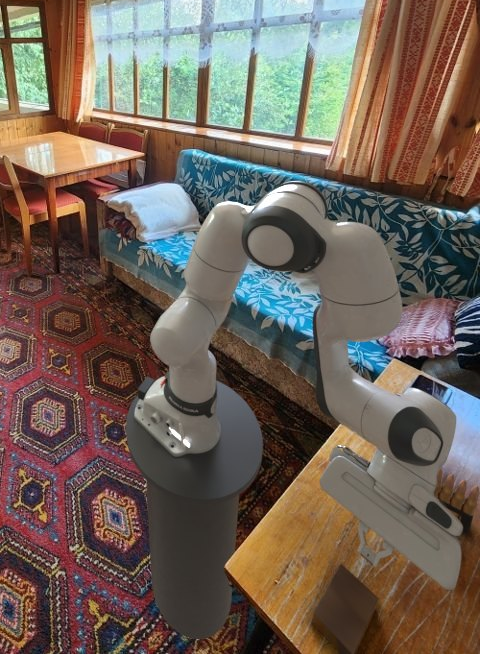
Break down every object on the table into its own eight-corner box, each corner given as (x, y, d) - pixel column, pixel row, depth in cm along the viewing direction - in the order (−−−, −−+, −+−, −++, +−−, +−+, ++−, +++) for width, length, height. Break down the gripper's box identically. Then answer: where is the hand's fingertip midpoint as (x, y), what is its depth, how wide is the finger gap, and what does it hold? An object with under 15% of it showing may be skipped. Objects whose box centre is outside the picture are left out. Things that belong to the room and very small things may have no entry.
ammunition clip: (467, 526, 72) (484, 485, 68) (467, 535, 70) (485, 493, 66) (399, 490, 78) (411, 451, 74) (399, 498, 77) (411, 458, 73)
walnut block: (338, 572, 66) (311, 622, 61) (340, 562, 65) (313, 612, 60) (375, 608, 62) (350, 665, 56) (379, 598, 61) (353, 655, 55)
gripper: (333, 438, 71) (301, 507, 69) (474, 536, 55) (440, 630, 53) (340, 440, 75) (311, 506, 73) (474, 532, 59) (442, 619, 57)
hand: (366, 559), depth 63 cm, fingers closed
